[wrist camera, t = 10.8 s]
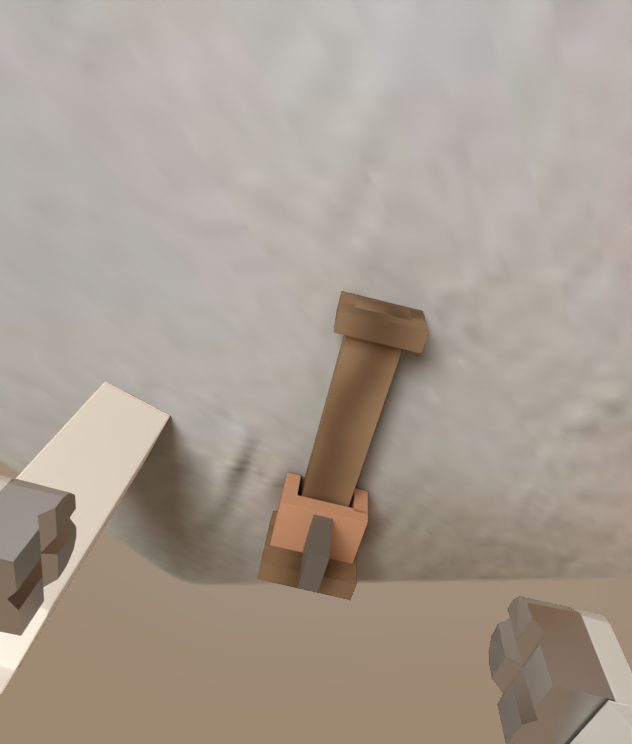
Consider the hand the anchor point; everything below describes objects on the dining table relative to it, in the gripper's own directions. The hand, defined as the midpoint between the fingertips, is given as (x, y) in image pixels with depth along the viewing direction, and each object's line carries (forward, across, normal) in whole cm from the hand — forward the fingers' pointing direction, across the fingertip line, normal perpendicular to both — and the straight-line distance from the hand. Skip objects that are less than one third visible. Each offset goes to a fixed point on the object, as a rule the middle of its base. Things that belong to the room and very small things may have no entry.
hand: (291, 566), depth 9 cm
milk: (+29, +15, +21) cm, 38 cm away
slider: (+28, -3, +24) cm, 38 cm away
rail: (+28, -4, +17) cm, 33 cm away
